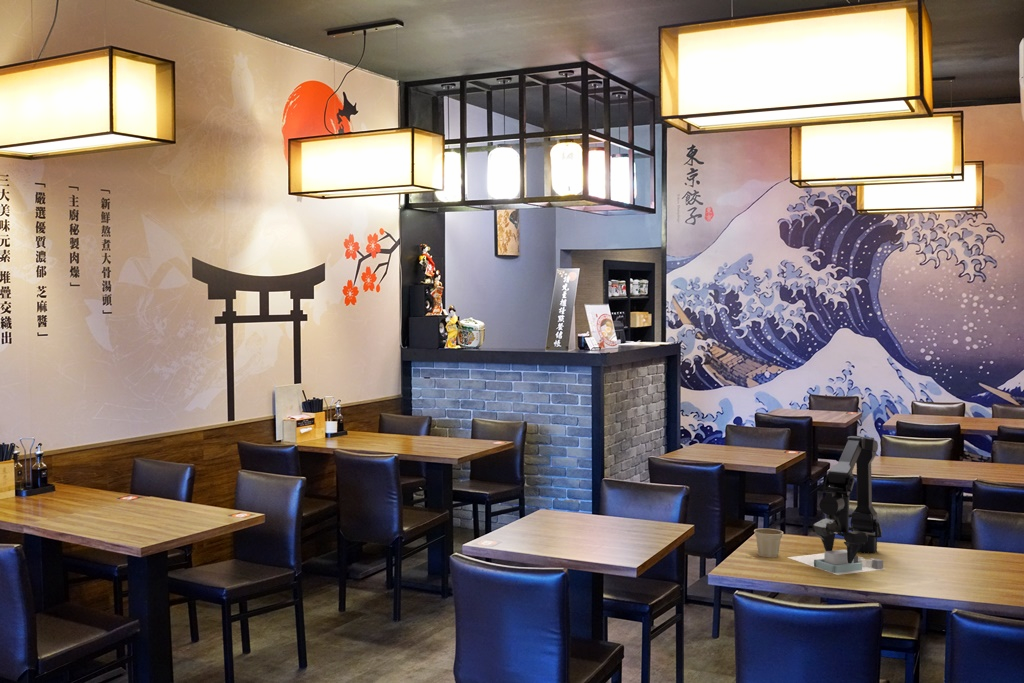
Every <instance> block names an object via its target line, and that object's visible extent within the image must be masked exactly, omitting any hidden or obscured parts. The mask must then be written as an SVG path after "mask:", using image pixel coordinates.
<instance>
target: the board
mask: <svg viewBox="0 0 1024 683" xmlns="http://www.w3.org/2000/svg"><path fill="white" fill-rule="evenodd" d="M824 557H825V552H822V553H815V554H808V555H807V554H805V555H797V556H788V557H787V556H786V558H788V559H790V560H793V561H796V562H799V563H802V564H804V565H807V566H811V567H813V568H816V569H818V570H821V571H825V572H827V573H830V574H834V575H835V576H836V575H837V576H841V575H847V574H848V575H850V574H857V573H864V572H866V573H867V572H874V571H883V570H885V568H884V567H883V569H875V568H873V567H872V568H870V567H862V570H856V571H847V572H839V573H832V572H829V571H826V570H824V569H821V568H818V567H815V566H814V560H817V559H824Z"/></svg>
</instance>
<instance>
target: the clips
mask: <svg viewBox="0 0 1024 683" xmlns="http://www.w3.org/2000/svg"><path fill="white" fill-rule="evenodd" d="M873 559H874V558H869V559H865V558H864V557H858V562H861V563H862V567H870V568H872V563H873Z"/></svg>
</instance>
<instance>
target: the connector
mask: <svg viewBox="0 0 1024 683" xmlns="http://www.w3.org/2000/svg"><path fill="white" fill-rule="evenodd" d="M824 553H825V557H824V562H825V563H828V564H831V565H834V566H835V565H843V564H852V563H858V558H859V555H857V554H856V555H855V557H854V559H853V561H852V563H848V559H847V549H837V550H832V551H825V550H824Z"/></svg>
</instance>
